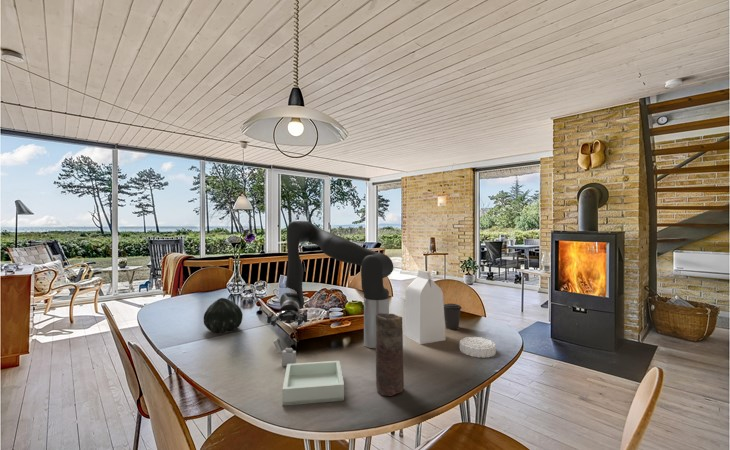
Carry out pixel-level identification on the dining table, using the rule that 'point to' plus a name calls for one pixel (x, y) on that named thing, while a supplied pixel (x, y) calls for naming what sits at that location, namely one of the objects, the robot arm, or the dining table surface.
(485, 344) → the mooncake
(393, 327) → the candle
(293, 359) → the lighter
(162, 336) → the dining table surface
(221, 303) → the squash
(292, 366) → the bin
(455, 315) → the coffee cup
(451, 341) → the dining table surface
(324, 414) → the dining table surface
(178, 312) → the dining table surface
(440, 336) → the milk
